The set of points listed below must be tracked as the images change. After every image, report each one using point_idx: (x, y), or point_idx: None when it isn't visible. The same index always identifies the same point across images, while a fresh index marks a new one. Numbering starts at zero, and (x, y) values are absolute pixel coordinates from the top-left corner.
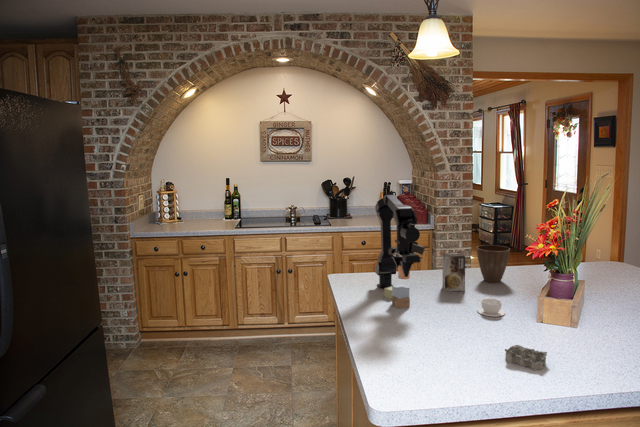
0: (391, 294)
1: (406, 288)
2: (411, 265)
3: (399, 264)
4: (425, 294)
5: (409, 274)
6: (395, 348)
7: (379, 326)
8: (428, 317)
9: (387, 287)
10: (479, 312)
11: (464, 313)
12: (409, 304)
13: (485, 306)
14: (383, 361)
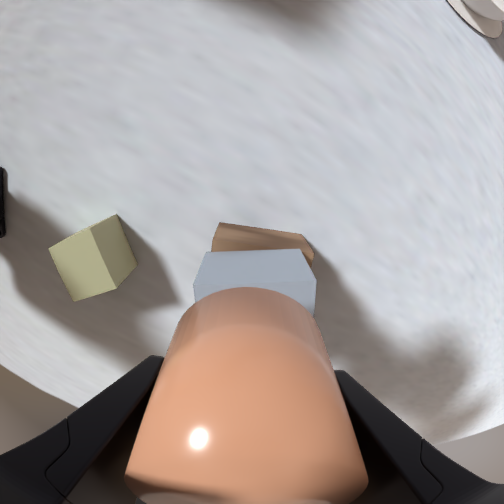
0: (126, 273)
1: (313, 306)
2: (481, 478)
3: (124, 497)
4: (136, 36)
5: (317, 343)
6: (483, 392)
7: (398, 407)
8: (450, 232)
9: (62, 278)
10: (472, 24)
11: (465, 65)
12: (304, 240)
13: (502, 18)
14: (486, 412)
